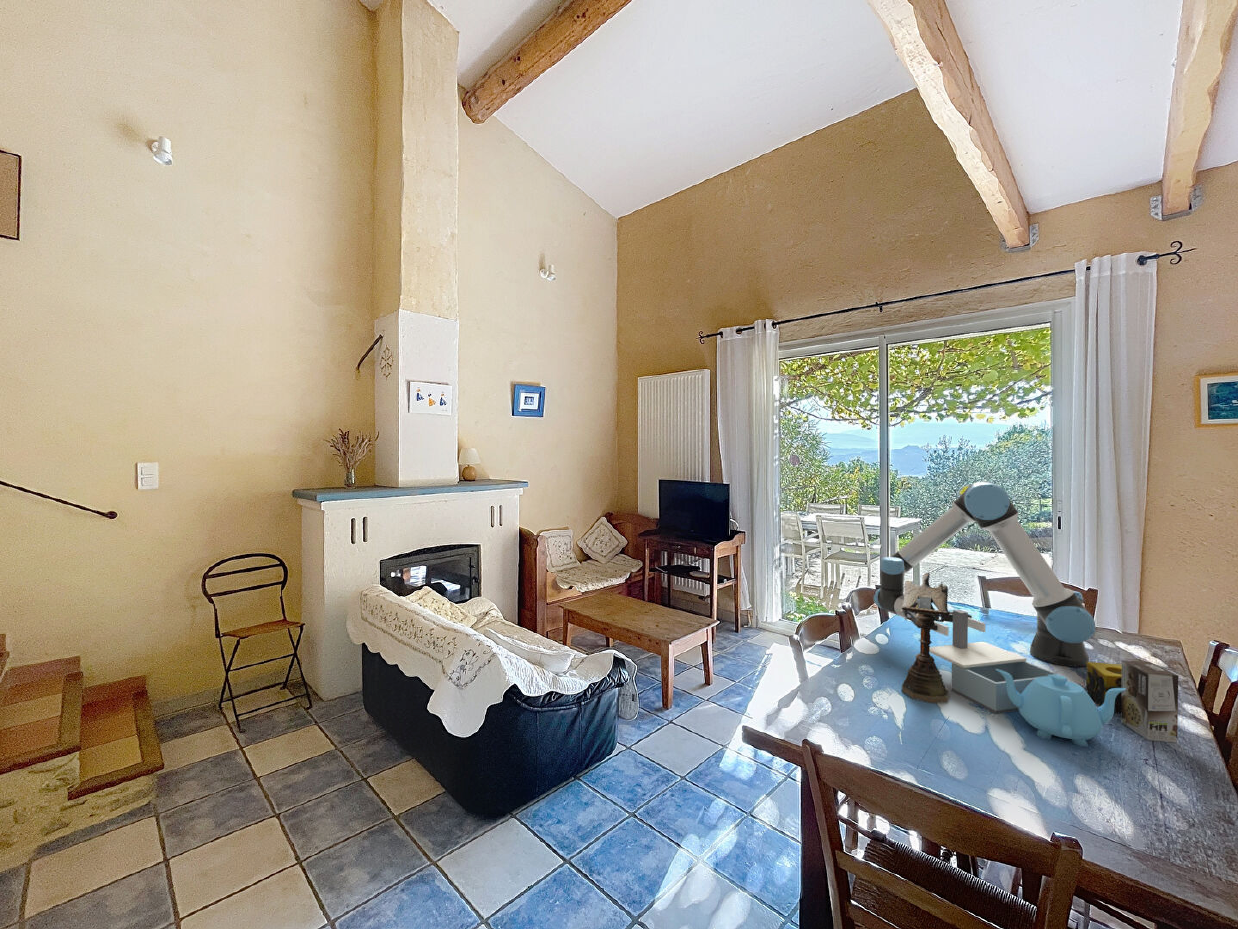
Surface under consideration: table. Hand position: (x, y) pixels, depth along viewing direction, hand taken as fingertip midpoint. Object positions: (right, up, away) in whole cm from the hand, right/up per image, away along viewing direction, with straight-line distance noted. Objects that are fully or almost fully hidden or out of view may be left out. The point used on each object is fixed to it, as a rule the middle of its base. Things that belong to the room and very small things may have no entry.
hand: (966, 629), depth 161 cm
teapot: (+2, -16, -30) cm, 35 cm away
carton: (+3, -15, -12) cm, 20 cm away
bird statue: (-19, -16, -12) cm, 27 cm away
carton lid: (+1, -7, -3) cm, 7 cm away
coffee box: (+25, -16, -31) cm, 42 cm away
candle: (+30, -16, -17) cm, 38 cm away
